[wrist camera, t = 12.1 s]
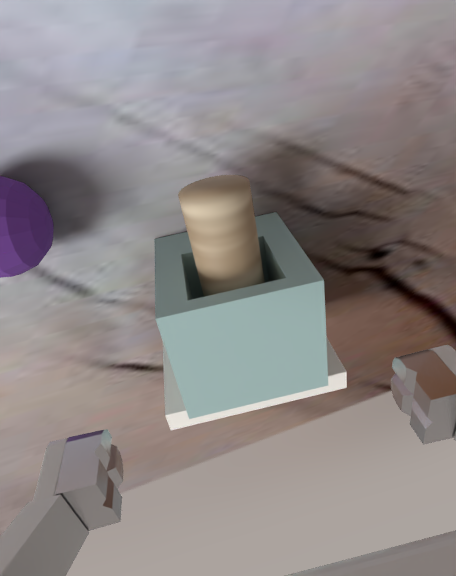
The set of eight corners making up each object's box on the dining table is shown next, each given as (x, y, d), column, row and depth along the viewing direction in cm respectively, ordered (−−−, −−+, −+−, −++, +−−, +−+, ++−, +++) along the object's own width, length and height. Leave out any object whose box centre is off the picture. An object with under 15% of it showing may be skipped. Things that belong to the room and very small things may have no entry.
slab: (162, 329, 33) (165, 415, 26) (303, 296, 34) (346, 371, 26) (166, 343, 34) (170, 430, 27) (304, 310, 35) (346, 387, 27)
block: (154, 239, 29) (155, 318, 21) (276, 211, 29) (323, 280, 21) (180, 325, 33) (189, 418, 25) (285, 300, 34) (328, 385, 26)
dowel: (174, 185, 24) (181, 208, 20) (240, 169, 24) (259, 189, 21) (207, 318, 29) (218, 355, 26) (262, 303, 30) (279, 337, 26)
